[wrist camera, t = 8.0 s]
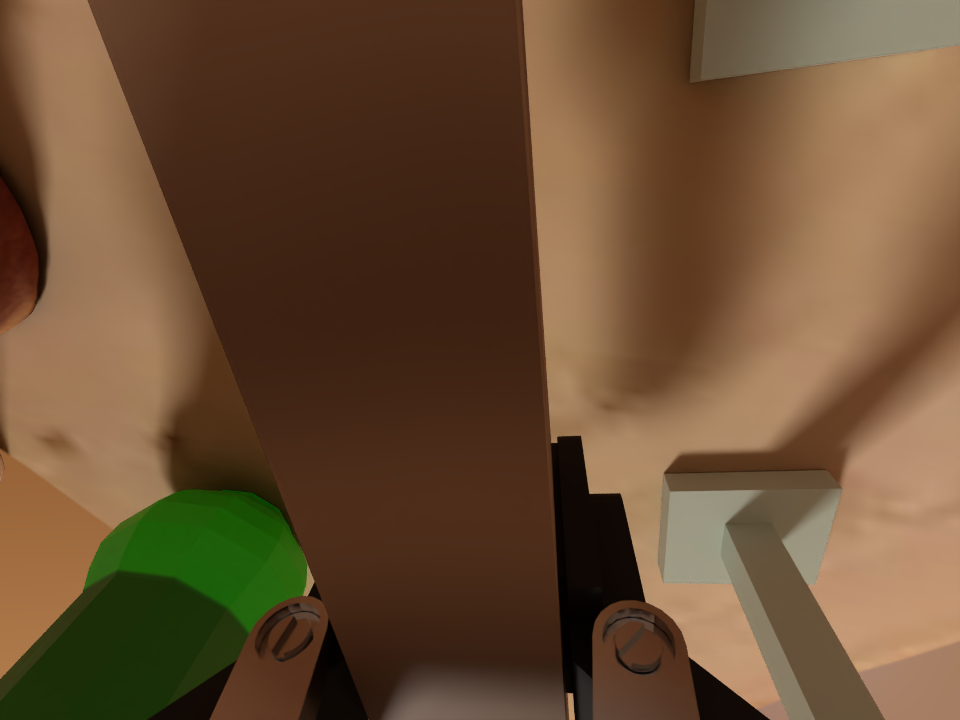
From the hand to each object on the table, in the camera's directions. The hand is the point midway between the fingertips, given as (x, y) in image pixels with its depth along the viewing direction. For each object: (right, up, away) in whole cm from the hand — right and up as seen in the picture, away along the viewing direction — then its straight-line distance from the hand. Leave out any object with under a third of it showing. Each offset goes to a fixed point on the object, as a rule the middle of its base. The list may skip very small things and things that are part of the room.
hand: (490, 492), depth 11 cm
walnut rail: (0, 0, -1) cm, 1 cm away
